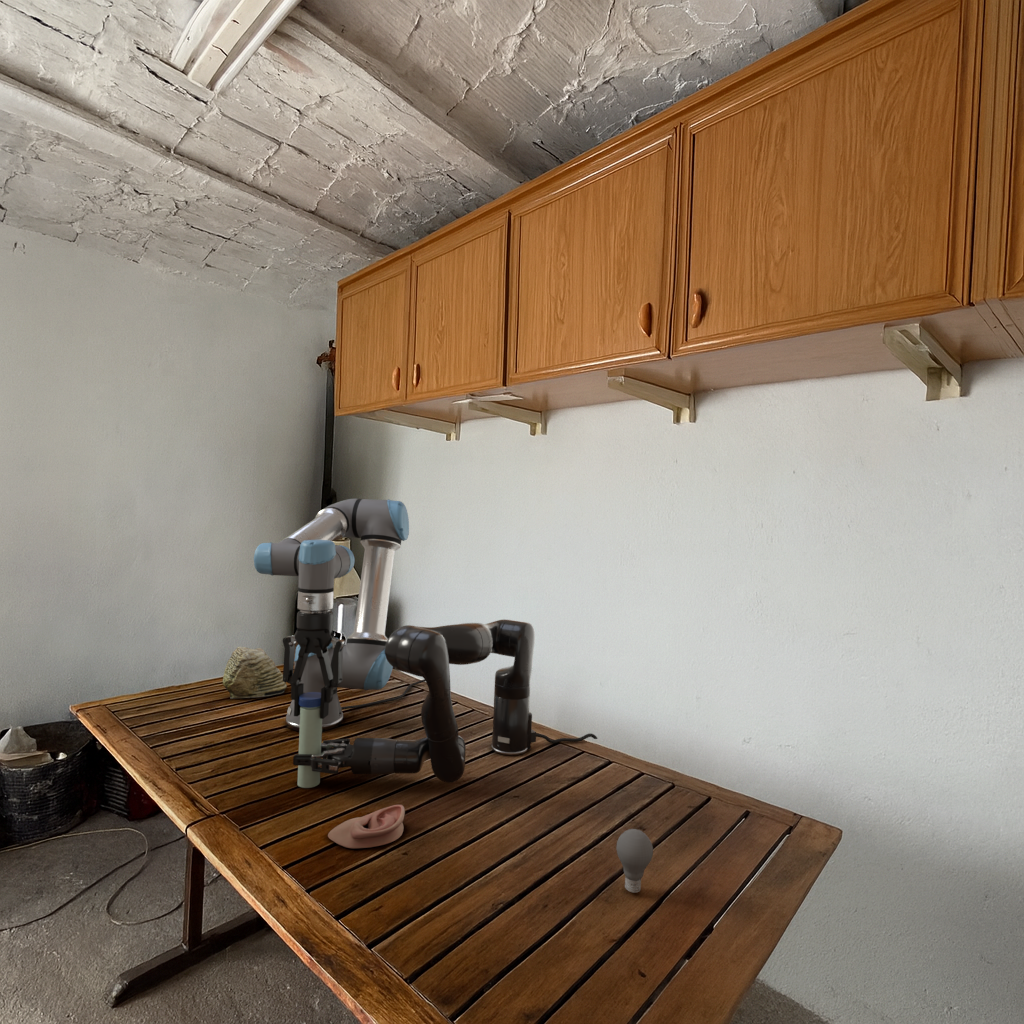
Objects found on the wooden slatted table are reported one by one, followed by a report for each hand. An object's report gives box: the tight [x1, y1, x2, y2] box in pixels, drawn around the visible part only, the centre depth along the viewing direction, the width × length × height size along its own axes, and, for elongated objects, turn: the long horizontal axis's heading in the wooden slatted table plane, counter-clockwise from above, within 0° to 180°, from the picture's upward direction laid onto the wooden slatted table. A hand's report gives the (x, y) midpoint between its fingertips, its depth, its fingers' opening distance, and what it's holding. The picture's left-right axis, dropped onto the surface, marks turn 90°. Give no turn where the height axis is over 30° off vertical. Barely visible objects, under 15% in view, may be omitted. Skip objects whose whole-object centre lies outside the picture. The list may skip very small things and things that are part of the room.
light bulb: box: [615, 828, 654, 894], centre depth 106 cm, size 6×6×10 cm
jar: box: [296, 706, 323, 789], centre depth 140 cm, size 5×5×19 cm
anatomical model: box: [327, 804, 406, 849], centre depth 120 cm, size 13×4×12 cm
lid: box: [299, 692, 321, 708], centre depth 139 cm, size 5×6×2 cm
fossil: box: [222, 646, 288, 699], centre depth 198 cm, size 9×18×15 cm, turn 132°
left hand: (311, 715), depth 140 cm, fingers closed on lid, 5 cm apart
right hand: (297, 754), depth 139 cm, fingers closed on jar, 4 cm apart
